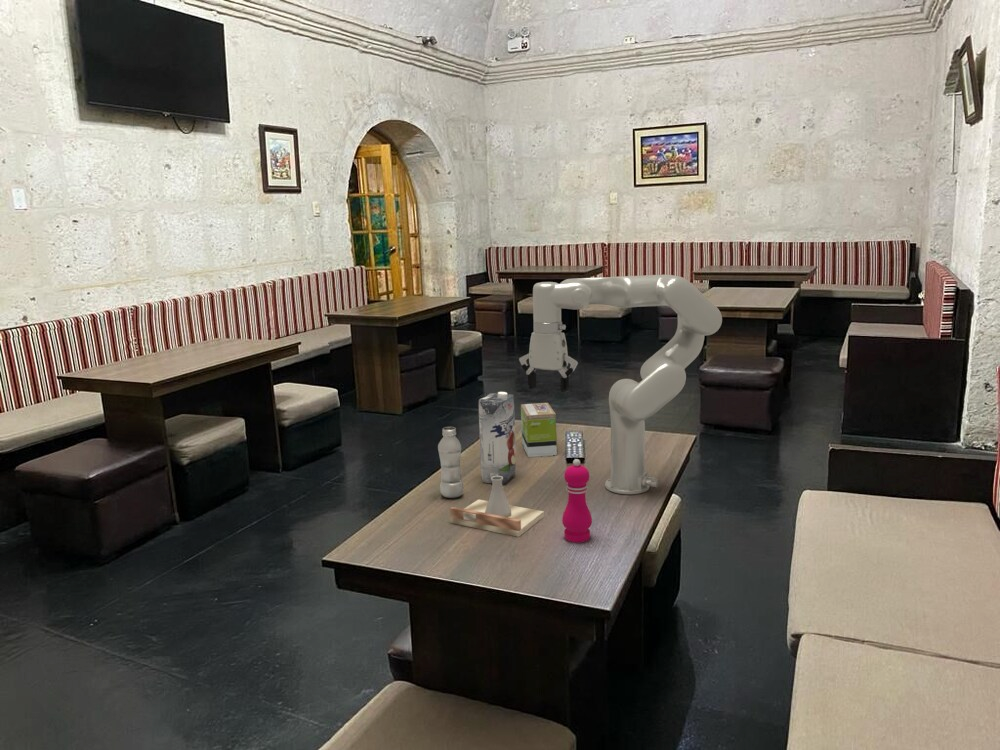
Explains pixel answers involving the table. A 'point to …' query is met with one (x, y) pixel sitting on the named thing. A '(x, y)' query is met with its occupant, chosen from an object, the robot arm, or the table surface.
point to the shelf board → (496, 518)
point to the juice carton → (497, 436)
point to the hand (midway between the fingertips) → (548, 389)
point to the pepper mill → (576, 504)
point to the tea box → (538, 429)
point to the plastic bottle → (450, 464)
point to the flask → (498, 499)
